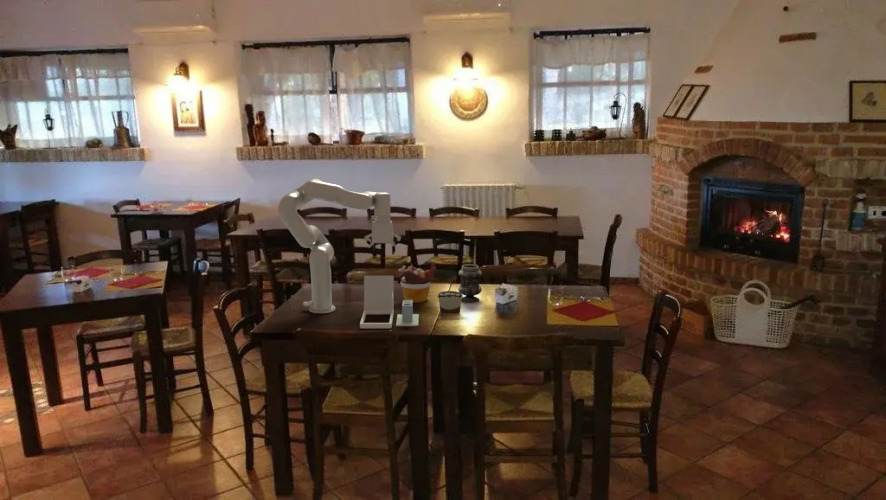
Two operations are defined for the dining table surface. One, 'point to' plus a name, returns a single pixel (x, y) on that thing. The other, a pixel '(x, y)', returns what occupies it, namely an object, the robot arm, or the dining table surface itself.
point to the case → (378, 299)
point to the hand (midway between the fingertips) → (382, 254)
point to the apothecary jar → (470, 283)
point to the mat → (413, 323)
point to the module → (407, 310)
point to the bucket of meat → (416, 283)
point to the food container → (450, 302)
